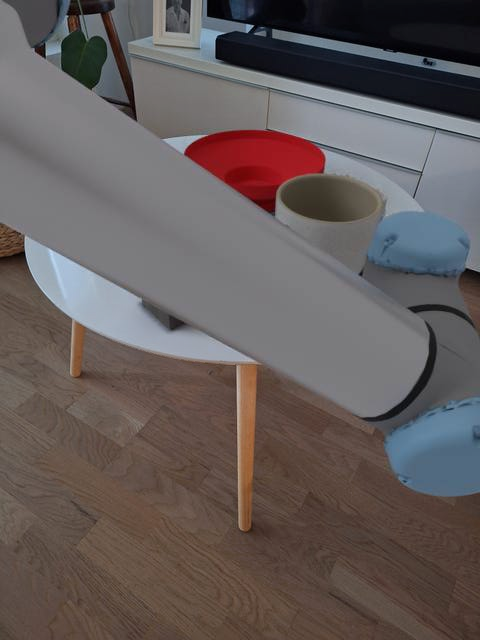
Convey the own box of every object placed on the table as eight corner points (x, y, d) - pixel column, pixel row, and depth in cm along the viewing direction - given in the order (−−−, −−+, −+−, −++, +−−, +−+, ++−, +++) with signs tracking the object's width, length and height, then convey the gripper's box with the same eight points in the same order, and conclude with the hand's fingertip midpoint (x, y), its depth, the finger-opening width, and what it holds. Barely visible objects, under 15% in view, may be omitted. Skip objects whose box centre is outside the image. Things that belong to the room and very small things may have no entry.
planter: (311, 236, 93) (321, 164, 83) (382, 274, 84) (404, 198, 74) (251, 270, 85) (254, 194, 74) (323, 316, 76) (338, 236, 65)
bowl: (316, 238, 93) (324, 192, 86) (170, 222, 96) (166, 177, 89) (320, 174, 116) (327, 133, 109) (202, 162, 119) (201, 122, 112)
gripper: (224, 388, 49) (119, 290, 60) (368, 293, 61) (259, 227, 73) (224, 337, 43) (110, 241, 55) (382, 245, 56) (262, 183, 68)
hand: (194, 233), depth 64 cm, fingers open, 13 cm apart
